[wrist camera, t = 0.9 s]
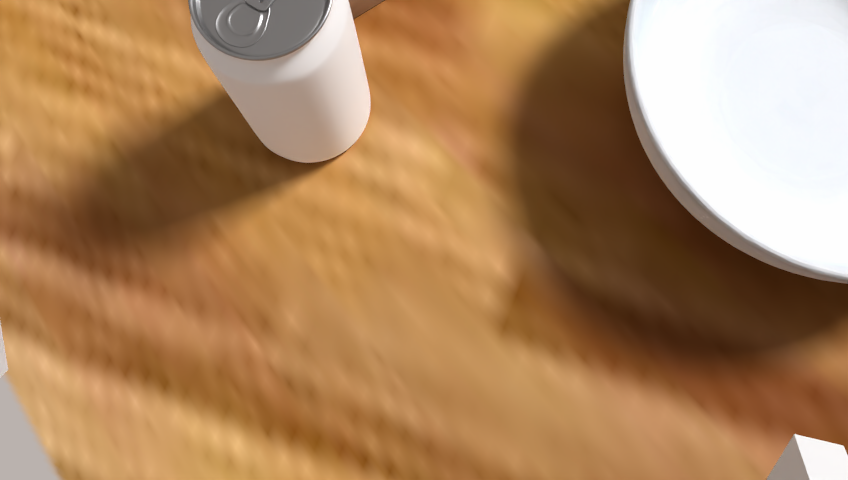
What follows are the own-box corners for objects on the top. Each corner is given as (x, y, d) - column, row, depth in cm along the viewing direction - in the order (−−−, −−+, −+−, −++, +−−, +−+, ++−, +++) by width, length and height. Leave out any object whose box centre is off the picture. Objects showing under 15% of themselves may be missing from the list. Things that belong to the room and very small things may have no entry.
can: (227, 126, 41) (143, 17, 30) (295, 31, 42) (240, -111, 31) (328, 188, 41) (281, 100, 29) (395, 89, 42) (377, -34, 30)
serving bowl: (853, 390, 38) (942, 387, 31) (518, 132, 41) (533, 79, 34) (1074, 82, 41) (1199, 19, 34) (746, -137, 44) (801, -234, 37)
